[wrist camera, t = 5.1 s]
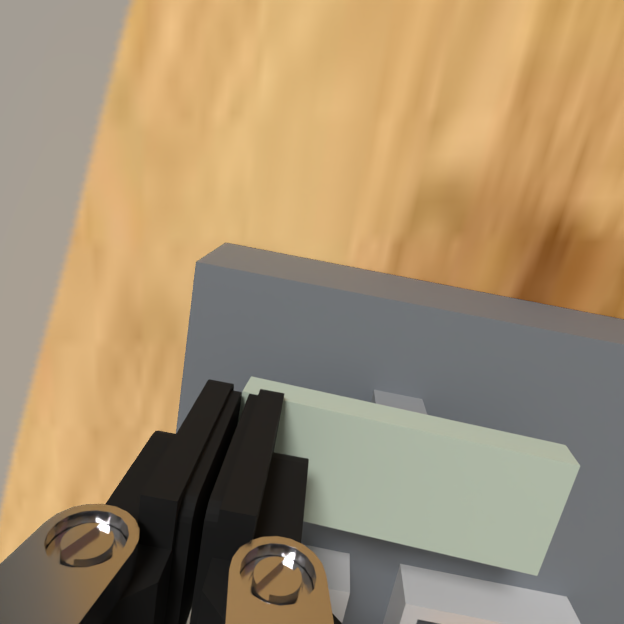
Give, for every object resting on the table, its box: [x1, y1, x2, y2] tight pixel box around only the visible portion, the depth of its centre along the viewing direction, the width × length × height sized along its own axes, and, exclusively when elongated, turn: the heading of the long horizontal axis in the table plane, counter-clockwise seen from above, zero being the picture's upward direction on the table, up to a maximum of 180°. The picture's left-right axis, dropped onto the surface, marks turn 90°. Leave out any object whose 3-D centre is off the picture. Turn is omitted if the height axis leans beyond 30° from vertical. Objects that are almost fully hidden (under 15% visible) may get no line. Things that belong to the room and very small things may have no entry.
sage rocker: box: [237, 376, 580, 576], centre depth 11 cm, size 7×3×1 cm, turn 80°
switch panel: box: [176, 243, 624, 624], centre depth 14 cm, size 14×13×4 cm
